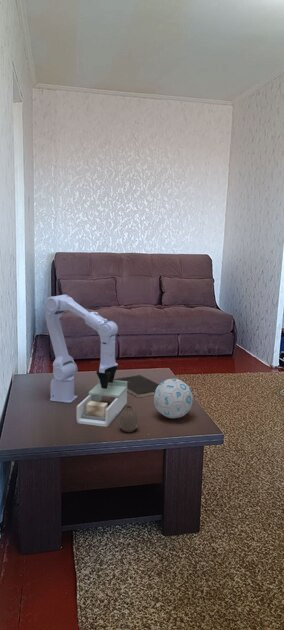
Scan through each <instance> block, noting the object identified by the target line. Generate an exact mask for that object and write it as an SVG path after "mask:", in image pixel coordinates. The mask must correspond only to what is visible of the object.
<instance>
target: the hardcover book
mask: <svg viewBox="0 0 284 630" xmlns="http://www.w3.org/2000/svg"><path fill="white" fill-rule="evenodd" d="M114 380H118V381H127V393H130V394H131V393H132V395H133V396H135V397H137V398H142V397H143V398H144V397H149V396H154V394H155V390H156V388H157V387H158V385H159V384H160V383H157V382H155V381H153V380H151V379H149V378H147V377H145V376H143V375H142V374H139V375H131V376H125V377H118V378H114Z"/></svg>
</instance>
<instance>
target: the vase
mask: <svg viewBox="0 0 284 630" xmlns="http://www.w3.org/2000/svg"><path fill="white" fill-rule="evenodd" d="M138 424H139V416H138V413H137V411H135V409H134V407H133V405H125V406H124V409H122V410H121V413H119V418H118V425H119V427H120V429H121V430H122V431H124V432H126V433H131V432H134V431H135V430H137V427H138Z"/></svg>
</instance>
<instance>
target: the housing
mask: <svg viewBox="0 0 284 630" xmlns="http://www.w3.org/2000/svg"><path fill="white" fill-rule="evenodd" d="M90 401H94V402H101V401H102V396H101V395H92V394H88V395H87V396H86V397H85V398H84V399H82V401H80V403H79V404H77V405H76V424H79V425H80V424H81V425H89V426H97V427H103V428H104V427H105V428H109V426H110V425H111V423H112V422H113V421H114V420H115V418H116V417H117V416H118V415H119V414H120V412H122V411H123V410H124V409H123V408H125V407H126V406H127V404H128V391H127V389H126V390H125V391H124V392H123V393H122V394H121V396H120V397H115V399H114V400H113V401H112V402H111V403H110V404H109V405H108V408H107V409H106V411H105V418H102V417H94V416H86V405H87V404H88V403H89V402H90Z"/></svg>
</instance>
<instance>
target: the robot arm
mask: <svg viewBox="0 0 284 630" xmlns="http://www.w3.org/2000/svg"><path fill="white" fill-rule="evenodd" d="M43 305H44V307H45V308H44V309H45V314H44V316H45V317H44V318H45V322H46V325H47V330H48V334H49V337H50V338H49V339H50V341H51V345H52V350H53V353H54V358H55V359H54V361H53V363H52V367H53V370H52V375H53V378H52V379H51V381H50V384H49V385H50V386H49V387H50V395H49V396H50V398H49V401H50V402H51V401H52V402H59V403H66V404H71V403H72V402H74V401H75V400H76V399H77V398H78V395H75V377H76V374H77V373H78V365H77V364H76V362H75V361H74V358H73V356H71V355H70V354H69V351H68V348H67V344H66V340H65V336H64V333H63V328H62V324H61V320H60V318H61V316H62V315H63V314H64V313H65V312H66V311H70V313H73V314H74V315H77V316H78V317H80V318H81V319H83V320H84V323H85V325H87V326H88V327H90V328H92V329H93V330H94V331H96V332H97V333H98V336H99V338H100V339H99V340H100V363H99V369H97V370H96V375H97V377H98V379H99V380H100V384H101V388H103V389H107V387H108V382H109V383H113V380H114V379H115V375H116V372H117V370H118V367H119V364H118V363H117V362H116V335H117V334H118V331H119V327H118V324H117V323H116V322H115V321H114V320H108V319H107V318H104V317H103V316H101V315H100V314H99V312H97V311H91V312H89V310H87V309H86V308H84V306H82V305H80V304H79V303H77V301H75V300H74V299H73V297H71V296H69V295H67V294H65V293H64V294H61V295H60V294H59V295H55V296H53V295H52V296H48V298H47V299H46V300H45V302H44V304H43Z"/></svg>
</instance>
